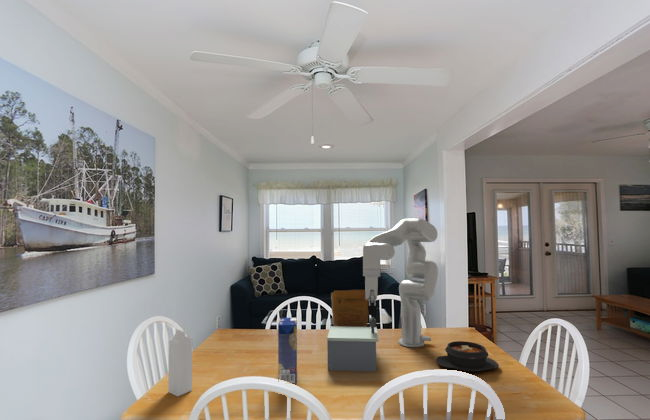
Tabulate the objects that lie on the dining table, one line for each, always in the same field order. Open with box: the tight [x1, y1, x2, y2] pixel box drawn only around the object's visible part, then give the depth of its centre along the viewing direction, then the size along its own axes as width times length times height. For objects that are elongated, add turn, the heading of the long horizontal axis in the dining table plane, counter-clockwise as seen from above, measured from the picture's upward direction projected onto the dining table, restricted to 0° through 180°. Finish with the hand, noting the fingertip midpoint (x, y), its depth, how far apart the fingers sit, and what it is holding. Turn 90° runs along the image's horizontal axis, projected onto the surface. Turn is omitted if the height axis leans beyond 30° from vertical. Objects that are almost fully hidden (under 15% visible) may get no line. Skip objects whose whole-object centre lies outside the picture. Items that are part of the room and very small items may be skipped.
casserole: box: [435, 340, 500, 373], centre depth 154 cm, size 25×19×8 cm
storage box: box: [326, 341, 377, 373], centre depth 159 cm, size 20×16×12 cm
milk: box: [167, 329, 193, 398], centre depth 134 cm, size 6×6×22 cm
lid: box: [326, 317, 379, 343], centre depth 159 cm, size 21×17×7 cm
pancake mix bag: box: [330, 289, 369, 327], centre depth 181 cm, size 7×19×28 cm, turn 80°
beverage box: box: [277, 317, 298, 384], centre depth 145 cm, size 7×11×22 cm, turn 3°
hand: (371, 312), depth 158 cm, fingers open, 9 cm apart
